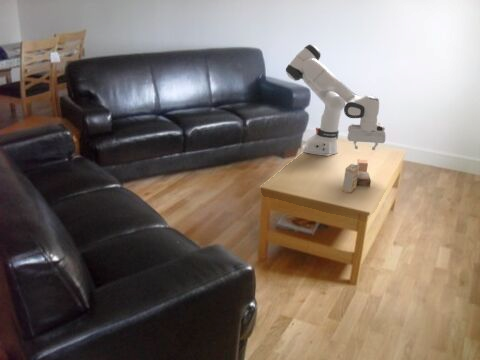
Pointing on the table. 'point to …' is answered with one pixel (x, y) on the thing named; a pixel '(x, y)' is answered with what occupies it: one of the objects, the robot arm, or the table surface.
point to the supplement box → (350, 178)
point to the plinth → (363, 179)
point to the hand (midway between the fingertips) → (364, 149)
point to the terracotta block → (362, 165)
